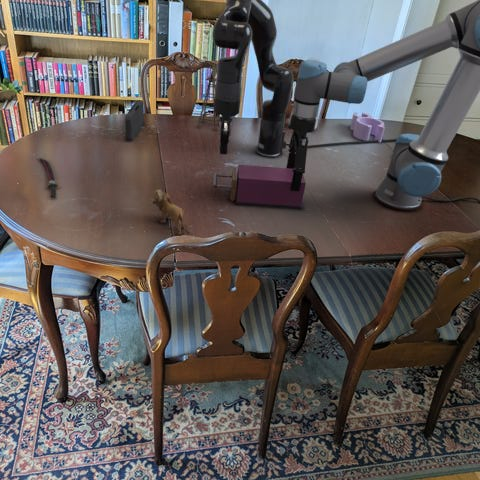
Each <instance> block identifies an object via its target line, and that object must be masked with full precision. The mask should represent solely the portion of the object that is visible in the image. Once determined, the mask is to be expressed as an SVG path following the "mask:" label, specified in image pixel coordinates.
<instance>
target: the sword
mask: <svg viewBox="0 0 480 480" xmlns="http://www.w3.org/2000/svg"><path fill="white" fill-rule="evenodd" d="M40 161H41V162H42V163H43V165H44V166H45V169H46V173H47V176H48V185H47V188H50V198H56V197H57V189H56V188H57V187H59V185H58V184H57V183H56V180H55V176H54V172H53V169H52V167H51V164H50V163H49V161H48V160H46V159H43V158H40Z"/></svg>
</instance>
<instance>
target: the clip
mask: <svg viewBox="0 0 480 480" xmlns="http://www.w3.org/2000/svg"><path fill="white" fill-rule="evenodd" d="M358 114H359V113H358V112H353V114H352V118H351V122H350V126H349V129H350V130H351V131H353V132H352V136H353V137H354V138H356V139H358V140H360V141H370V135H372V136H374V139H373V140H379V142H378V143H382V142H381V140H383V137H384V132H385V129H386V127H385V122H384V121H383V120H380V119H377V118H374V117H372V115H371V114H369V113H366V112H361V115H358Z"/></svg>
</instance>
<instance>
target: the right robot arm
mask: <svg viewBox="0 0 480 480" xmlns="http://www.w3.org/2000/svg"><path fill="white" fill-rule="evenodd" d="M451 48H455V49H457V50H458V54H459V58H458V60H457V63H456V64H455V66H454V68H453V70H452V72H451V74H450V76H449V78H448V80H447V82H446V84H445V86H444V88H443V90H442V91H441V93H440V96H439V97H438V99H437V101H436V103H435V105H434V107H433V109H432V111H431V113H430V115H429V117H428V119H427V121H426V123H425V124H424V127H423V129H422V130H421V132H420V134H415V133H414V134H413V133H401V134H399V135H398V136H397V138H396V139H397V141H394V148H393V151H392V153H391V157H390V161H389V164H388V169H387V172H386V175H385V177H384V179H383V180H382V181H381V182H380V184H379V186H378V187H377V188H376V190H375V194H374V197H375V200H376V201H377V202H378V203H380V204H381V205H383V206H385V207H386V208H387V207H388V208H389V209H392V210H395V211H401V212H402V211H403V212H412V211H416V210H418V209H419V208H421V205H422V199H426V200H431V201H433V202H434V201H435V202H440V203H442V202H443V203H445V202H446V203H449V202H455V201H458V200H462V201H463V200H474V201H477V202H478V203H479V204H480V198H478V197H473V196H462V197H459V196H458V197H455V198H451V199H443V198H442V199H441V198H435V197H430V196H428V195H431V194H432V193H434V192H435V191H436V190H438V188H439V187H440V185H441V183H442V170H443V169H444V167H445V165H446V164H447V162H448V160H449V155H448V153H447V151H448V149H449V147H450V146H451V143H452V141H453V140H454V138H455V137H456V134H457V133H458V131H459V130H460V127H461V126H462V124H463V122H464V120H465V118H466V116H467V115H468V113H469V111H470V109H471V108H472V106H473V104H474V102H475V100H476V99H477V97H478V95H479V93H480V0H475V1H473V2H471V3H470V4H467V5H465V6H464V7H460V8H459V9H457V10H455V11H452V12H451V13H448V14H447V15H446V16H445V18H444V20H442V21H439V22H437V23H435V24H432V25H430V26H428V27H426V28H424V29H421V30H419V31H417V32H415V33H412V34H409V35H408V36H406V37H403V38H401V39H399V40H398V39H397V40H396V41H394V42H392V43H389V44H387V45H384V46H383V47H380V48H378V49H376V50H373V51H371V52H368V53H366V54H363V55H362V56H360V57H358V58H356V59H353V60H351V61H349V62H348V61H344V62H343V61H342V62H340V63H339V64H337V65H336V66H335V67H334V69H333V71H329V70H328V67H327V64H326V63H325V62H323V61H322V62H319V61H316V60H307V59H305V60H303V61H301V63H300V66H299V69H298V73H297V78H296V84H295V91H294V97H293V103H290V107H291V108H293V110H292V109H291V111H292V114H293V115H292V116H291V120H290V126H289V128H290V129H291V130H292V133H291V137H290V140H289V143H288V144H289V146H288V156H287V162H286V167H285V168H291V169H293V170H292V172H293V178H292V184H291V189H290V190H291V191H299V190H300V185H301V180H302V175H303V176H304V174H305V173H306V165H307V153H308V148H307V146H309V145H308V144H309V138H308V136H307V134H308V133H312V132H314V131H315V130H316V129H315V124H316V117H317V115H318V116H319V113H318V110H320V103H321V99H323V100H329V101H334V102H340V103H346V104H349V105H351V104H352V105H353V104H355V105H360V104H362V103H363V102H364V100H365V96H366V92H367V88H368V82H370V81H373V80H376V79H378V78H380V77H383V76H385V75H388V74H390V73H392V72H395V71H397V70H399V69H402V68H405V67H407V66H409V65H411V64H413V63H416V62H419V61H421V60H424V59H426V58H428V57H431V56H433V55H436V54H438V53H440V52H443V51H446V50H448V49H451ZM314 129H315V130H314ZM294 169H295V170H294Z"/></svg>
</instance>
